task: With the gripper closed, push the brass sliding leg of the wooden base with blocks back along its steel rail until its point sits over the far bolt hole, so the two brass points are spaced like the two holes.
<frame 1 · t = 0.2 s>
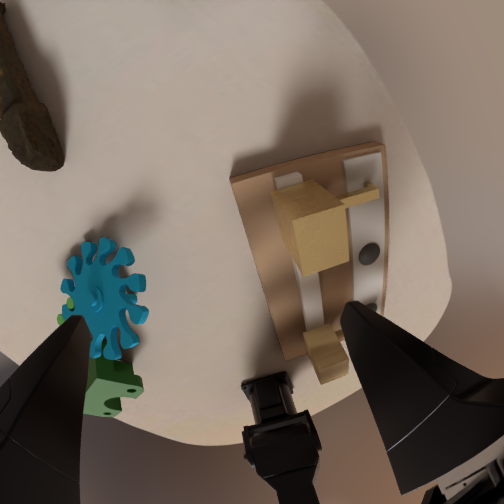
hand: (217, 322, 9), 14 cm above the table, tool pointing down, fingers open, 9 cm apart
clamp: (107, 364, 29), on the table
sliding leg: (342, 211, 18), point 5 cm above the table, slide at 0.0 cm
hand tool: (24, 75, 13), on the table
gear: (105, 274, 23), on the table
wooden base with blocks: (325, 265, 27), on the table
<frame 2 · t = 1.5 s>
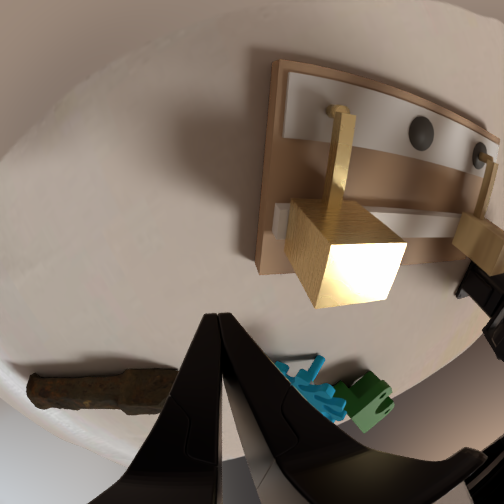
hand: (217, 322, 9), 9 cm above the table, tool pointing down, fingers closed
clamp: (356, 384, 34), on the table
sliding leg: (347, 195, 12), point 5 cm above the table, slide at 0.0 cm
hand tool: (96, 372, 23), on the table
gear: (287, 367, 27), on the table
wooden base with blocks: (404, 182, 18), on the table
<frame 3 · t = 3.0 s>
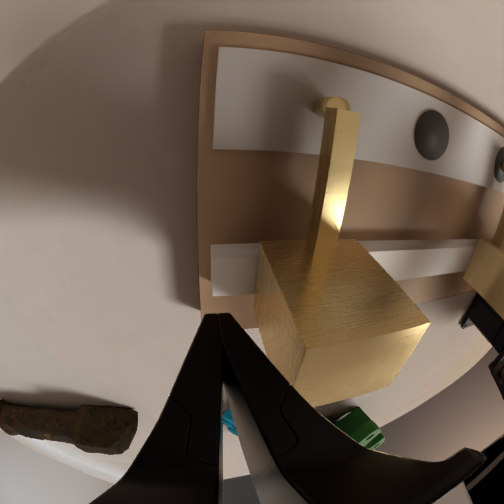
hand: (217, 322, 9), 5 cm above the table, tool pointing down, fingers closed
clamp: (343, 418, 29), on the table
sliding leg: (343, 243, 8), point 5 cm above the table, slide at 1.2 cm, touching gripper
hand tool: (56, 404, 19), on the table
wooden base with blocks: (406, 201, 13), on the table
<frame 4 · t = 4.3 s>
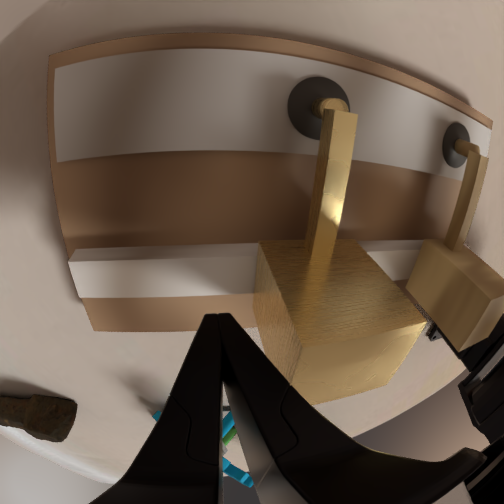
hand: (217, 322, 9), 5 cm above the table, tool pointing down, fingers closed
sliding leg: (340, 243, 8), point 5 cm above the table, slide at 7.0 cm, touching gripper
hand tool: (16, 393, 18), on the table
gear: (200, 414, 22), on the table
wooden base with blocks: (312, 195, 12), on the table
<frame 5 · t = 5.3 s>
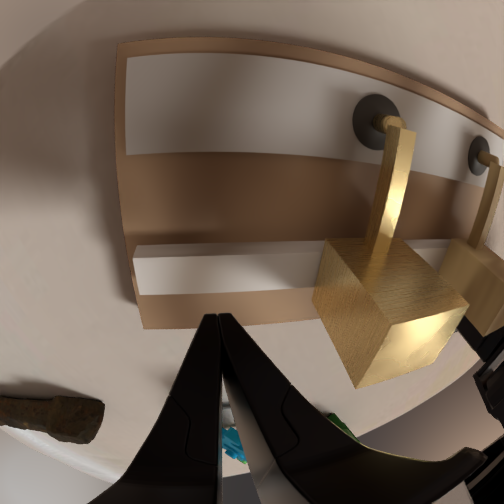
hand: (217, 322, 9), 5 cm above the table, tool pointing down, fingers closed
sliding leg: (402, 241, 9), point 5 cm above the table, slide at 7.1 cm
hand tool: (35, 395, 19), on the table
gear: (231, 411, 22), on the table
wooden base with blocks: (359, 198, 13), on the table
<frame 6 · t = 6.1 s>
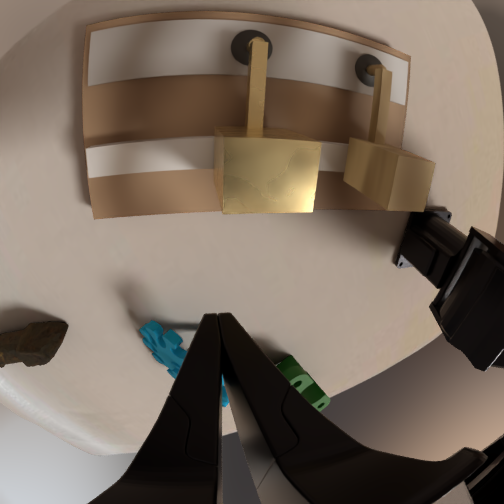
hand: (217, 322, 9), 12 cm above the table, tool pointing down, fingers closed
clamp: (281, 371, 32), on the table
sliding leg: (260, 110, 12), point 5 cm above the table, slide at 7.1 cm
hand tool: (14, 330, 21), on the table
gear: (184, 337, 26), on the table
wooden base with blocks: (257, 110, 16), on the table
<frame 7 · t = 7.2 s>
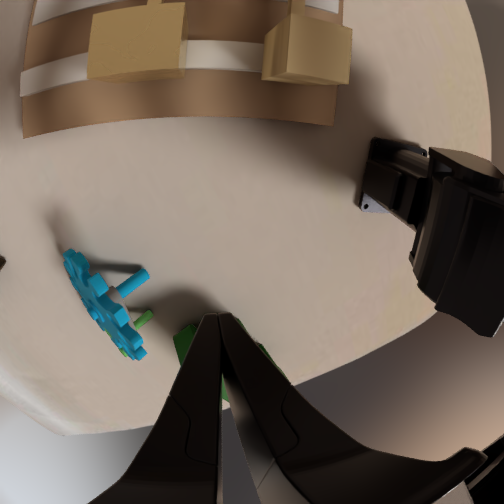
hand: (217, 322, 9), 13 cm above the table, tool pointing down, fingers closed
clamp: (230, 341, 29), on the table
sliding leg: (150, 5, 9), point 5 cm above the table, slide at 7.1 cm
gear: (113, 281, 22), on the table
wooden base with blocks: (175, 28, 13), on the table
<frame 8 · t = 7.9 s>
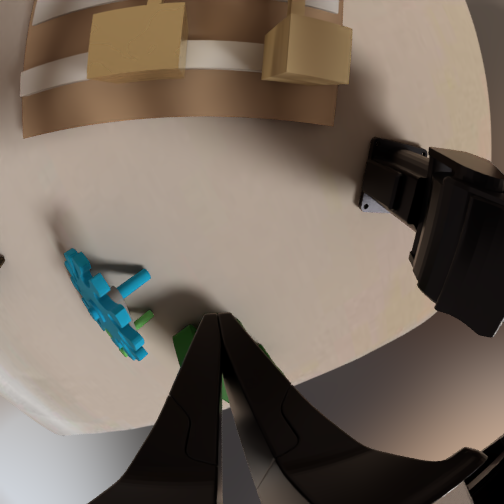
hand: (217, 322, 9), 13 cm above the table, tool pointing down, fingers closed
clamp: (230, 341, 29), on the table
sliding leg: (150, 5, 9), point 5 cm above the table, slide at 7.1 cm
gear: (114, 281, 22), on the table
wooden base with blocks: (175, 28, 13), on the table
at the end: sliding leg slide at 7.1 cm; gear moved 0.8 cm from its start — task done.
